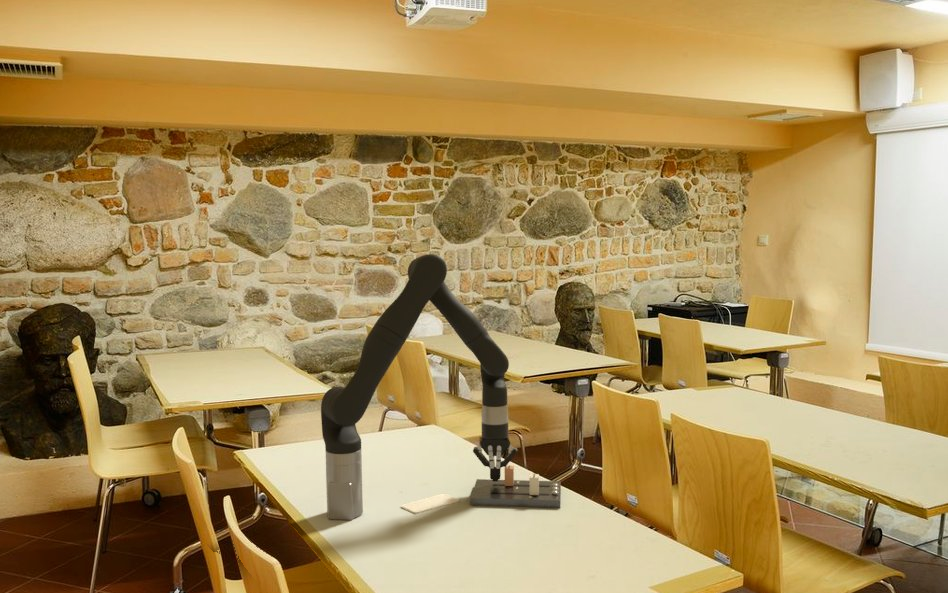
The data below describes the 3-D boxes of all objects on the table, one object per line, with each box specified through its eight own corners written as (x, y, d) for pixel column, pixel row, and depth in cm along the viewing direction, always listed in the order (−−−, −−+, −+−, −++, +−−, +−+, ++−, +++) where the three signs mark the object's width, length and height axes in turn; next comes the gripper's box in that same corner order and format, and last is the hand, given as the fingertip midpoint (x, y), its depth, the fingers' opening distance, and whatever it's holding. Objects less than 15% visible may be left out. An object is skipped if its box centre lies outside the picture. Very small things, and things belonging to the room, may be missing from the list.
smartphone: (460, 500, 220) (415, 512, 210) (460, 502, 220) (415, 515, 210) (443, 493, 225) (399, 505, 216) (443, 495, 225) (399, 508, 216)
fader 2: (538, 495, 217) (538, 477, 216) (529, 494, 217) (529, 476, 217) (538, 491, 220) (538, 473, 219) (530, 491, 220) (529, 473, 220)
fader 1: (513, 486, 225) (513, 468, 224) (504, 485, 225) (504, 468, 224) (513, 482, 228) (513, 465, 227) (505, 482, 228) (505, 465, 227)
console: (560, 507, 213) (560, 497, 213) (470, 505, 216) (470, 495, 216) (560, 488, 229) (560, 478, 229) (476, 486, 232) (476, 476, 232)
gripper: (469, 423, 222) (470, 484, 224) (517, 424, 221) (518, 485, 222) (472, 416, 230) (473, 475, 231) (519, 417, 228) (519, 477, 230)
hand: (495, 480), depth 227 cm, fingers closed
